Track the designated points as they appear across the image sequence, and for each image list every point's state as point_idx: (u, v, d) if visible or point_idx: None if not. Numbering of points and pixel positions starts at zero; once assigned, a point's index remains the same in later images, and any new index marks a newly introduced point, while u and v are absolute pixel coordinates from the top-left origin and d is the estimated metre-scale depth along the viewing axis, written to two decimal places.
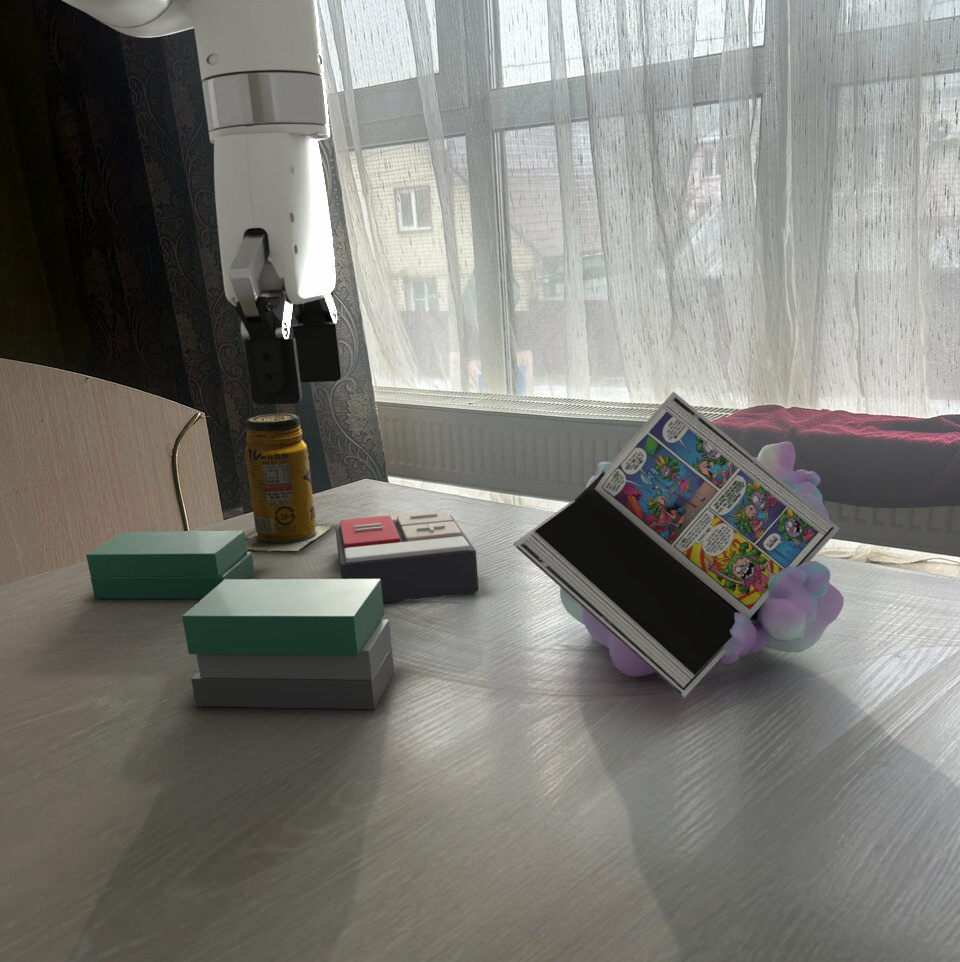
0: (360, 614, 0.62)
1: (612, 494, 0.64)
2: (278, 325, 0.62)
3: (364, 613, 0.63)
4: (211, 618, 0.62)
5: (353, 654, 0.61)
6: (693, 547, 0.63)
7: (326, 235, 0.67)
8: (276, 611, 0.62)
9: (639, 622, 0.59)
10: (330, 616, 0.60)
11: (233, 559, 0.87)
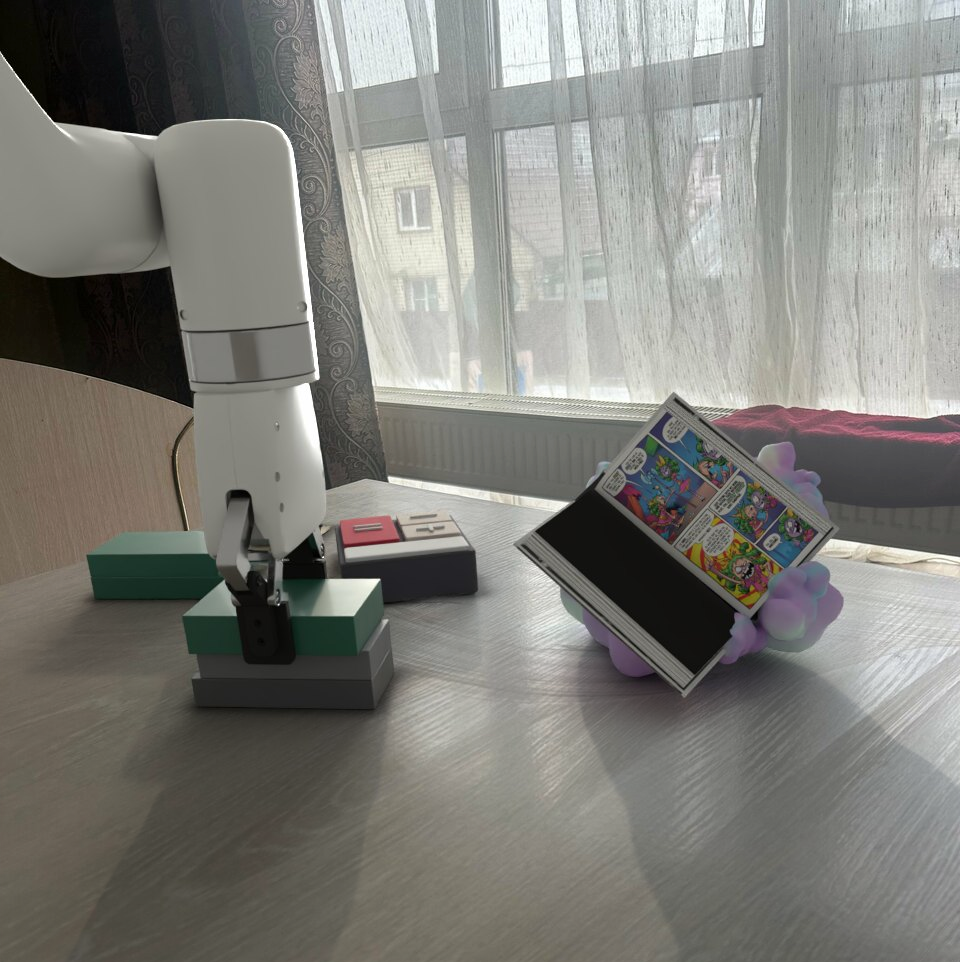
0: (360, 614, 0.62)
1: (612, 494, 0.64)
2: (270, 596, 0.59)
3: (364, 613, 0.63)
4: (211, 618, 0.62)
5: (353, 654, 0.61)
6: (693, 547, 0.63)
7: (316, 470, 0.63)
8: None
9: (639, 622, 0.59)
10: (330, 616, 0.60)
11: None
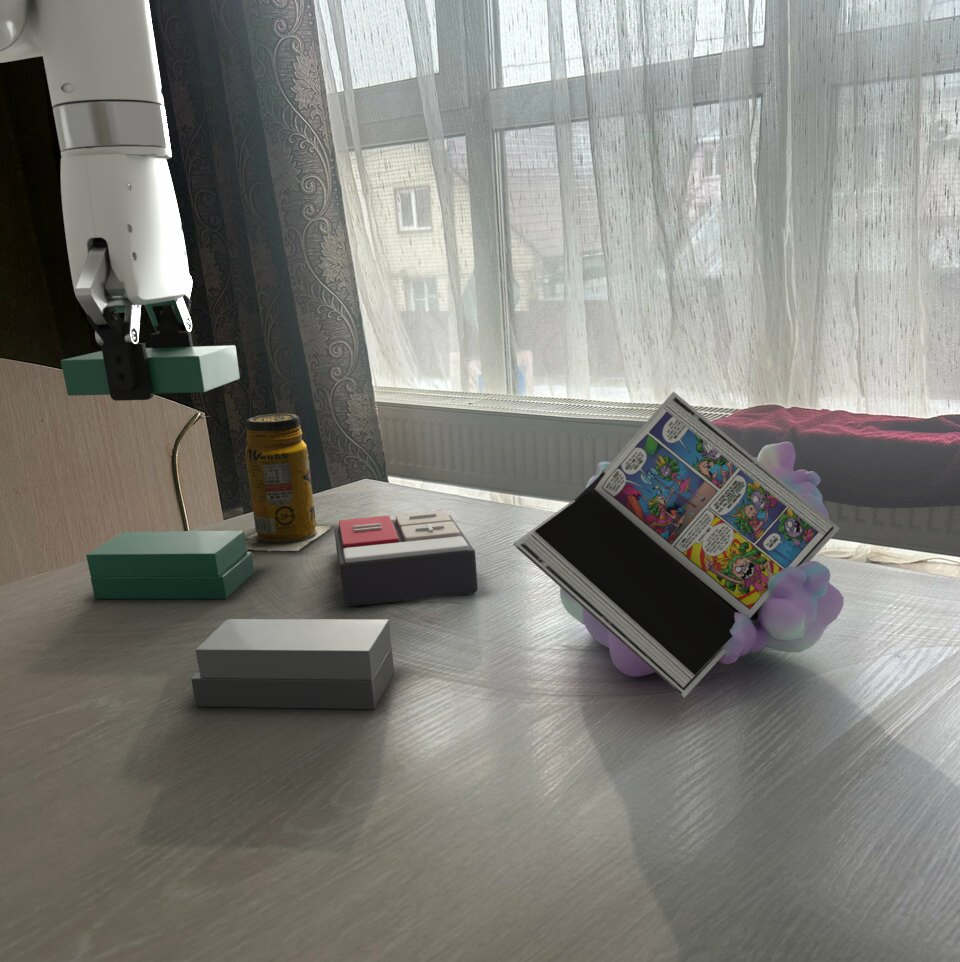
0: (208, 360, 0.74)
1: (612, 494, 0.64)
2: (126, 333, 0.71)
3: (213, 362, 0.75)
4: (84, 361, 0.74)
5: (200, 391, 0.74)
6: (693, 547, 0.63)
7: (175, 243, 0.76)
8: None
9: (639, 622, 0.59)
10: (180, 356, 0.73)
11: (233, 559, 0.87)
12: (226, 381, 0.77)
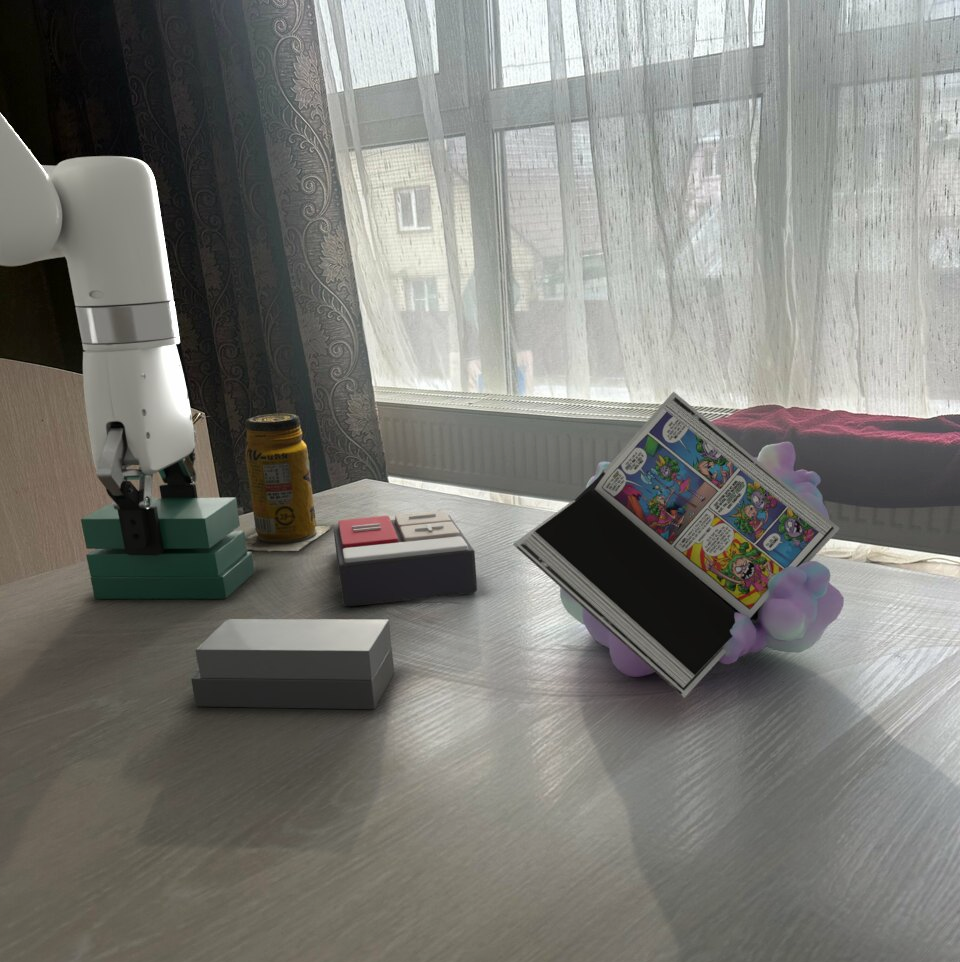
0: (213, 519, 0.83)
1: (612, 494, 0.64)
2: (141, 501, 0.80)
3: (216, 519, 0.84)
4: (102, 520, 0.83)
5: (206, 547, 0.83)
6: (693, 547, 0.63)
7: (182, 413, 0.85)
8: None
9: (639, 622, 0.59)
10: (188, 518, 0.82)
11: (233, 559, 0.87)
12: (228, 532, 0.87)
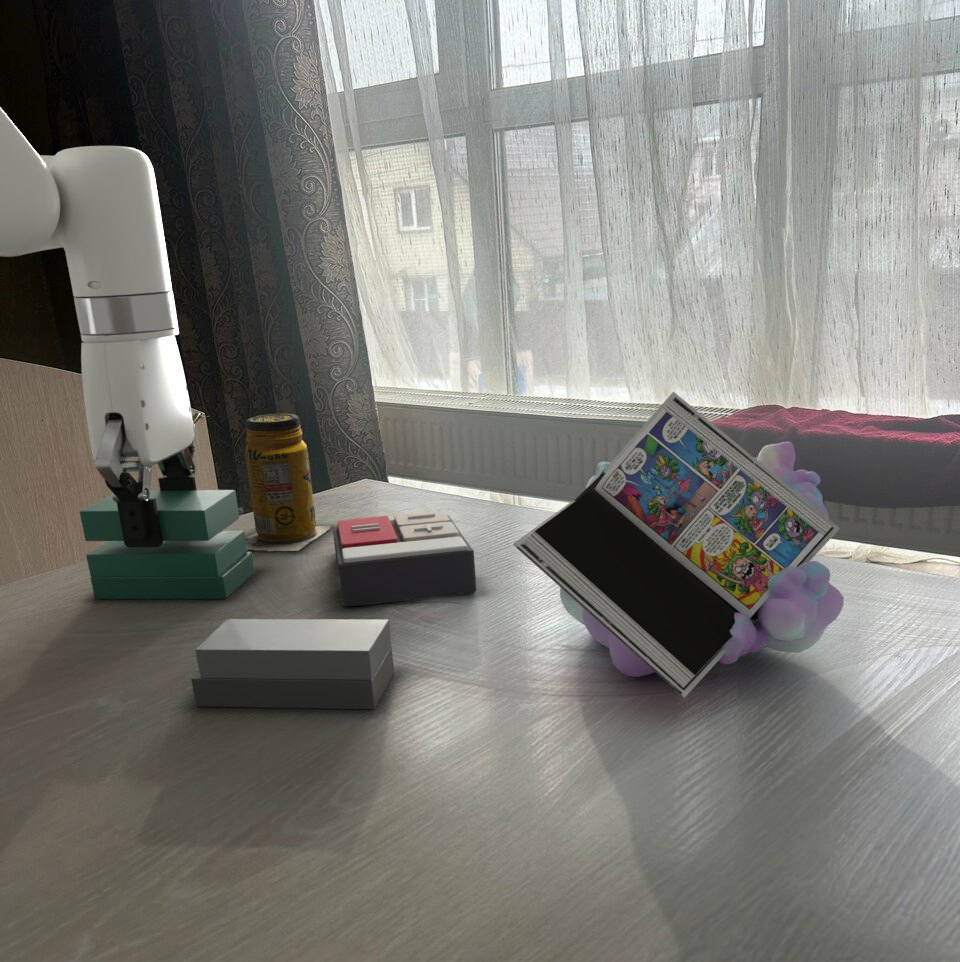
0: (212, 511, 0.83)
1: (612, 494, 0.64)
2: (140, 493, 0.80)
3: (216, 511, 0.84)
4: (101, 513, 0.83)
5: (205, 539, 0.83)
6: (693, 547, 0.63)
7: (181, 404, 0.84)
8: None
9: (639, 622, 0.59)
10: (187, 510, 0.82)
11: (233, 559, 0.87)
12: (227, 524, 0.86)
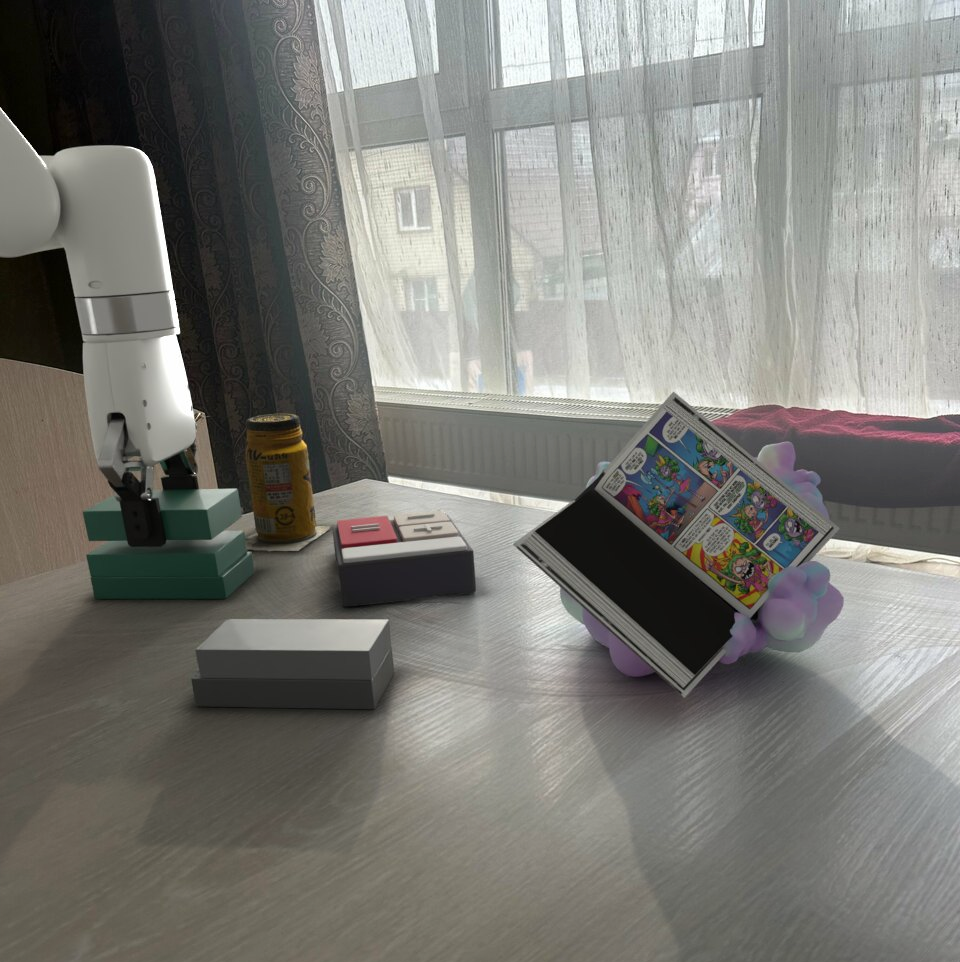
0: (214, 509, 0.83)
1: (612, 494, 0.64)
2: (142, 492, 0.80)
3: (218, 510, 0.84)
4: (104, 513, 0.83)
5: (208, 538, 0.83)
6: (693, 547, 0.63)
7: (183, 403, 0.84)
8: None
9: (639, 622, 0.59)
10: (190, 509, 0.82)
11: (233, 559, 0.87)
12: (230, 523, 0.86)
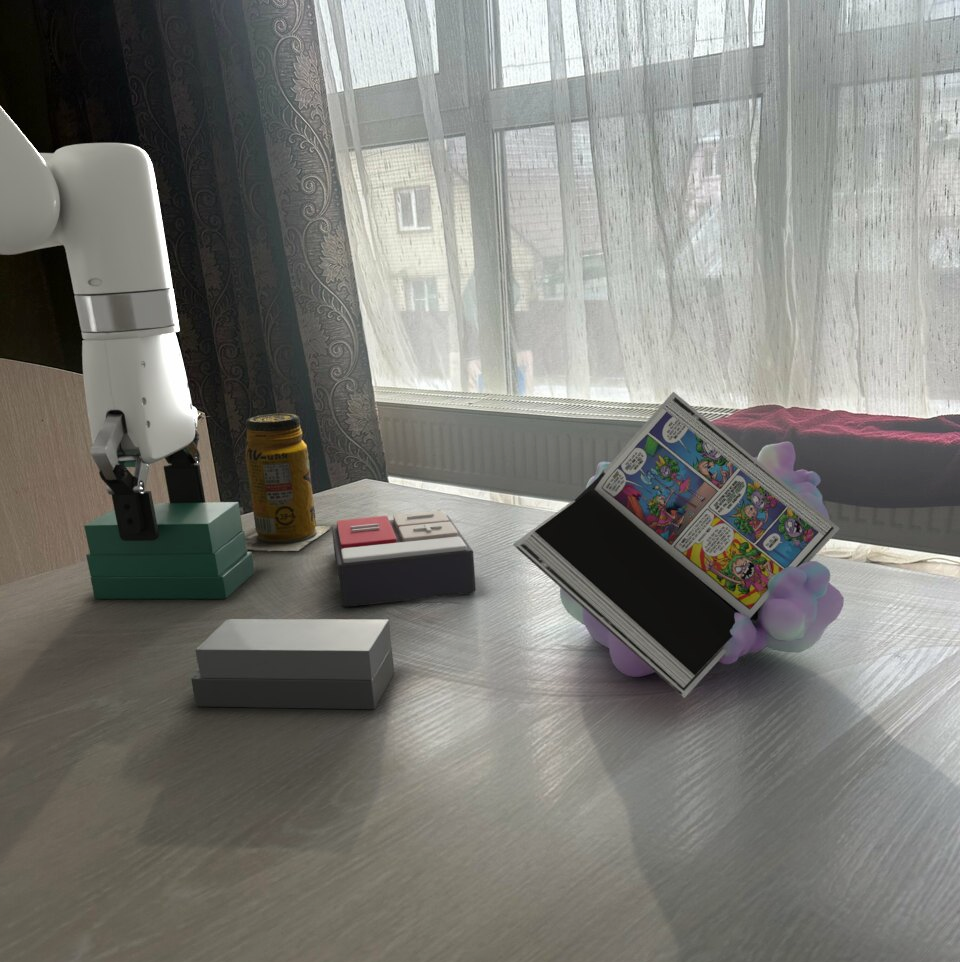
0: (215, 523, 0.84)
1: (612, 494, 0.64)
2: (135, 484, 0.79)
3: (219, 524, 0.85)
4: (105, 527, 0.84)
5: (209, 552, 0.83)
6: (693, 547, 0.63)
7: (182, 401, 0.84)
8: None
9: (639, 622, 0.59)
10: (191, 523, 0.82)
11: (233, 559, 0.87)
12: (231, 536, 0.87)
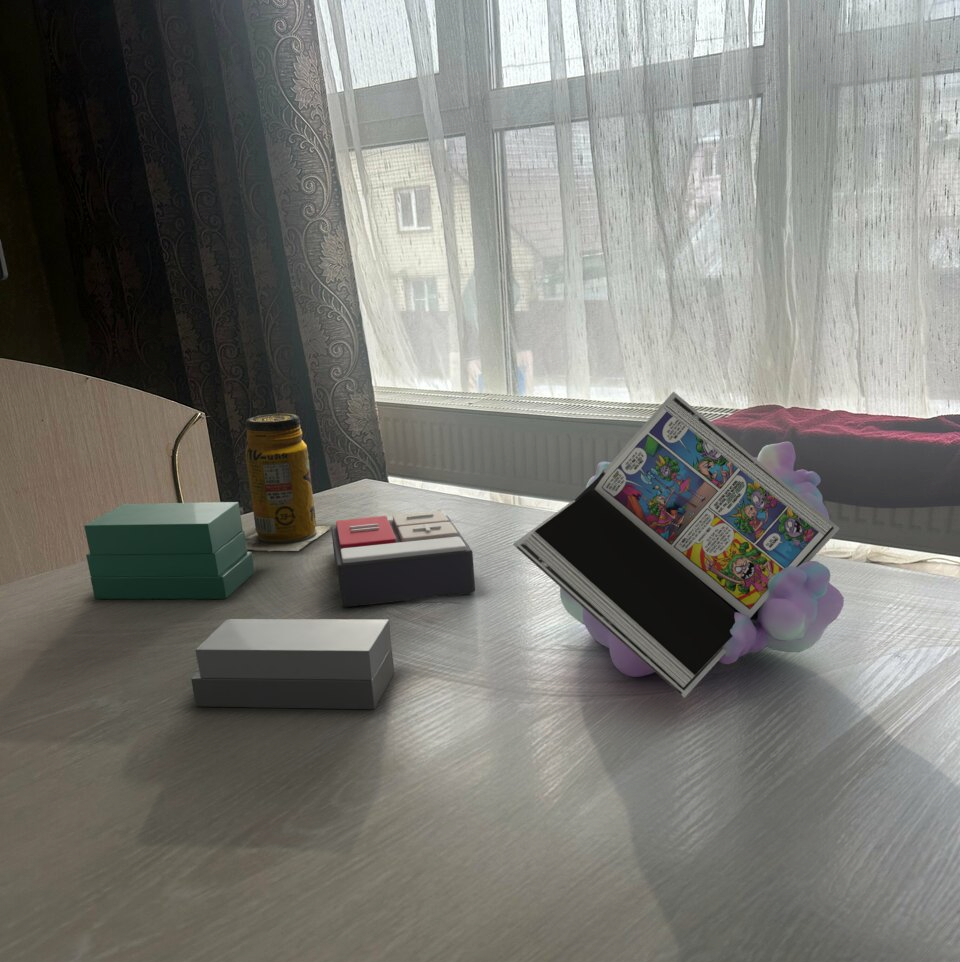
0: (215, 523, 0.84)
1: (612, 494, 0.64)
2: None
3: (219, 524, 0.85)
4: (105, 527, 0.84)
5: (209, 552, 0.83)
6: (693, 547, 0.63)
7: None
8: (153, 521, 0.84)
9: (639, 622, 0.59)
10: (191, 523, 0.82)
11: (233, 559, 0.87)
12: (231, 536, 0.87)
